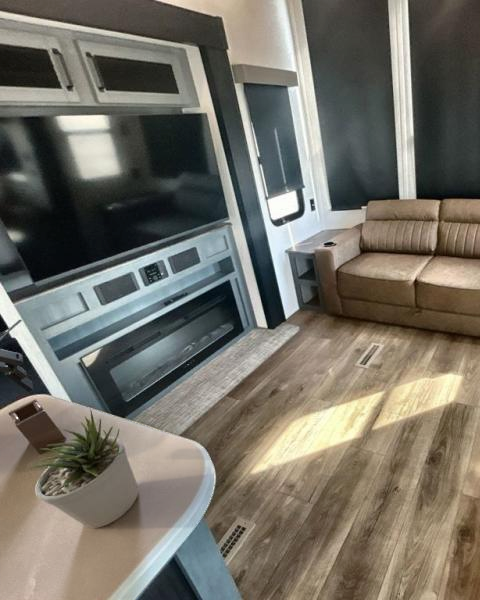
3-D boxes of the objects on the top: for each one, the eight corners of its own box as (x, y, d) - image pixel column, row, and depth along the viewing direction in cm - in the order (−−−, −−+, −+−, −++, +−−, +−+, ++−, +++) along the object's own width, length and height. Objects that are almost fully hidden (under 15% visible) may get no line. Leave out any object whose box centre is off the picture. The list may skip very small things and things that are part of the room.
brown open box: (31, 440, 87) (7, 412, 83) (56, 425, 91) (35, 399, 86) (39, 454, 83) (15, 426, 79) (66, 438, 86) (44, 411, 82)
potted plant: (113, 547, 62) (46, 470, 52) (54, 533, 65) (-18, 459, 56) (169, 481, 72) (122, 407, 63) (116, 471, 76) (64, 400, 66)
